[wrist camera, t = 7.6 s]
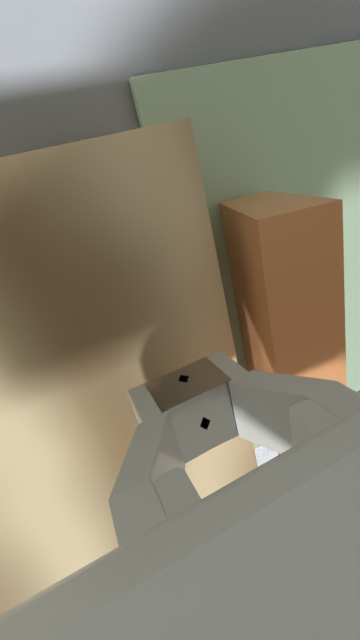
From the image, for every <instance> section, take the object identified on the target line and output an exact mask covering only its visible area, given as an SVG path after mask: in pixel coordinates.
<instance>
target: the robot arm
mask: <svg viewBox="0 0 360 640" xmlns="http://www.w3.org/2000/svg"><path fill="white" fill-rule="evenodd" d="M127 392H128V396H129V398H130V401H131V404H132V407H133V410H134V412H135V415H136V418H137V421H138V423H139V424H138V425H137V427H136V429H135V432H134V435H133V437H132V440H131V442H130V445H129V448H128V450H127V453H126V455H125V458H124V461H123V463H122V466H121V468H120V471H119V474H118V476H117V479H116V481H115V484H114V487H113V489H112V492H111V494H110V497H109V500H108V502H109V506H110V511H111V515H112V519H113V524H114V528H115V533H116V537H117V541H118V546H119V547H117V548H115V549H114V550H112V551H110V552H108V553H107V554H105V555H103V556H101V557H100V558H98V559H96V560H95V561H93V562H91V563H89V564H88V565H86V566H84V567H82V568H81V569H79V570H77V571H75V572H74V573H72V574H70V575H68V576H67V577H65V578H63V579H61V580H60V581H58V582H56V583H54V584H53V585H51V586H49V587H47V588H46V589H44V590H42V591H40V592H39V593H37V594H35V595H33V596H32V597H30V598H28V599H26V600H25V601H23V602H21V603H19V604H18V605H16V606H14V607H12V608H11V609H9V610H7V611H5V612H4V613H2V614H0V640H360V394H359V393H357V392H355V391H354V390H352V389H350V388H348V387H347V386H345V385H343V384H341V383H340V382H338V381H334V380H327V379H319V378H311V377H303V376H296V375H288V374H280V373H272V372H265V371H257V370H252V371H250V372H248V371H247V370H246V369H244V368H243V367H242V366H240V365H239V364H238V363H236V362H235V361H234V360H232V359H231V358H230V357H228V356H227V355H226V354H224V353H223V352H222V351H219V350H218V351H216V352H213V353H211V354H209V355H207V356H205V357H203V358H201V359H199V360H197V361H195V362H193V363H191V364H188V365H186V366H184V367H182V368H180V369H178V370H174V371H172V372H169V373H167V374H165V375H162V376H160V377H157V378H155V379H152V380H150V381H148V382H145V383H144V384H143V383H142V384H140V385H138V386H136V387H133V388H131V389H129V390H127ZM237 436H239V437H241V438H243V439H246V440H248V441H251V442H253V443H256V444H258V445H261V446H263V447H266V448H268V449H271V450H273V451H275V452H278V453H280V455H278V456H276V457H274V458H273V459H271V460H269V461H267V462H266V463H264V464H262V465H260V466H259V467H257V468H255V469H253V470H252V471H250V472H248V473H246V474H245V475H243V476H241V477H239V478H238V479H236V480H234V481H233V482H231V483H229V484H227V485H226V486H224V487H222V488H220V489H219V490H217V491H215V492H213V493H212V494H210V495H208V496H206V497H205V498H203V499H201V498H200V496H199V494H198V492H197V491H196V489H195V487H194V485H193V484H192V482H191V480H190V478H189V477H188V475H187V473H186V471H185V464H186V463H187V462H189V461H191V460H193V459H194V458H196V457H198V456H200V455H202V454H203V453H205V452H207V451H209V450H210V449H212V448H214V447H216V446H218V445H220V444H222V443H224V442H226V441H229V440H231V439H233V438H235V437H237Z"/></svg>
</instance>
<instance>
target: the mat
mask: <svg viewBox="0 0 360 640" xmlns="http://www.w3.org/2000/svg"><path fill="white" fill-rule="evenodd" d="M129 84H130V88H131V92H132V96H133V100H134V104H135V108H136V112H137V116H138V120H139V124H140V128H141V127H146V126H151V125H156V124H160V123H165V122H170V121H175V120H179V119H184V118H189V117H190V118H191V124H192V129H193V134H194V139H195V144H196V150H197V155H198V160H199V165H200V170H201V176H202V181H203V186H204V191H205V196H206V202H207V207H208V212H209V217H210V222H211V228H212V233H213V238H214V243H215V248H216V254H217V259H218V264H219V269H220V274H221V280H222V285H223V290H224V295H225V300H226V306H227V311H228V316H229V321H230V326H231V332H232V337H233V342H234V347H235V352H236V358H237V363H238V364H239V365H240V366H242V367H243V368H244V369H246V370H247V365H246V359H245V353H244V348H243V342H242V336H241V330H240V324H239V318H238V312H237V306H236V301H235V295H234V289H233V283H232V277H231V271H230V265H229V259H228V254H227V248H226V242H225V236H224V230H223V224H222V218H221V212H220V207H219V203H220V202H224V201H228V200H232V199H237V198H241V197H245V196H249V195H253V194H257V193H261V192H265V191H273V192H282V193H291V194H300V195H308V196H317V197H326V198H335V199H342V201H343V246H344V291H345V336H346V380H347V387H348V388H350V389H352V390H354V391H355V392H357V391H359V390H360V40H354V41H348V42H341V43H335V44H329V45H323V46H317V47H311V48H304V49H298V50H292V51H286V52H280V53H273V54H267V55H261V56H255V57H249V58H243V59H236V60H230V61H224V62H218V63H212V64H206V65H199V66H193V67H187V68H181V69H175V70H169V71H162V72H156V73H150V74H144V75H138V76H132V77H130V78H129ZM253 446H254V449H255V448H257V447H258V446H260V445H258V444H256V443H253Z"/></svg>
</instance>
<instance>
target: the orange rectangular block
mask: <svg viewBox="0 0 360 640" xmlns="http://www.w3.org/2000/svg"><path fill="white" fill-rule="evenodd" d="M219 207H220V212H221V218H222V224H223V230H224V236H225V242H226V248H227V254H228V259H229V265H230V271H231V277H232V283H233V289H234V295H235V301H236V306H237V312H238V318H239V324H240V330H241V336H242V342H243V348H244V353H245V359H246V365H247V371H248V372H250V371H252V370H257V371H265V372H272V373H280V374H288V375H296V376H303V377H311V378H319V379H327V380H334V381H338V382H340V383H341V384H343V385H345V386H347V380H346V336H345V291H344V246H343V201H342V199H335V198H326V197H317V196H308V195H300V194H291V193H282V192H273V191H265V192H261V193H257V194H253V195H249V196H245V197H241V198H237V199H232V200H228V201H224V202H220V203H219ZM278 454H279V455H280V453H278Z"/></svg>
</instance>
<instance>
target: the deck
mask: <svg viewBox="0 0 360 640" xmlns="http://www.w3.org/2000/svg"><path fill="white" fill-rule="evenodd" d="M218 350H219V351H222V352H223V353H224V354H226V355H227V356H228V357H230V358H231V359H232V360H234V361H235V362H236V363H237V358H236V352H235V347H234V342H233V337H232V332H231V326H230V321H229V316H228V311H227V306H226V300H225V295H224V290H223V285H222V280H221V274H220V269H219V264H218V259H217V254H216V248H215V243H214V238H213V233H212V228H211V222H210V217H209V212H208V207H207V202H206V196H205V191H204V186H203V181H202V176H201V170H200V165H199V160H198V155H197V150H196V144H195V139H194V134H193V129H192V124H191V118H190V117H189V118H184V119H179V120H175V121H170V122H165V123H160V124H156V125H151V126H146V127H141V128H137V129H132V130H127V131H122V132H118V133H113V134H108V135H103V136H98V137H94V138H89V139H84V140H79V141H75V142H70V143H65V144H60V145H56V146H51V147H46V148H41V149H36V150H32V151H27V152H22V153H17V154H13V155H8V156H3V157H0V614H2V613H4V612H5V611H7V610H9V609H11V608H12V607H14V606H16V605H18V604H19V603H21V602H23V601H25V600H26V599H28V598H30V597H32V596H33V595H35V594H37V593H39V592H40V591H42V590H44V589H46V588H47V587H49V586H51V585H53V584H54V583H56V582H58V581H60V580H61V579H63V578H65V577H67V576H68V575H70V574H72V573H74V572H75V571H77V570H79V569H81V568H82V567H84V566H86V565H88V564H89V563H91V562H93V561H95V560H96V559H98V558H100V557H101V556H103V555H105V554H107V553H108V552H110V551H112V550H114V549H115V548H117V547H119V546H118V541H117V537H116V533H115V528H114V524H113V519H112V515H111V511H110V506H109V502H108V500H109V497H110V494H111V492H112V489H113V487H114V484H115V481H116V479H117V476H118V474H119V471H120V468H121V466H122V463H123V461H124V458H125V455H126V453H127V450H128V448H129V445H130V442H131V440H132V437H133V435H134V432H135V429H136V427H137V425H138V424H139V423H138V421H137V418H136V415H135V412H134V410H133V407H132V404H131V401H130V398H129V396H128V392H127V390H129V389H131V388H133V387H136V386H138V385H140V384H142V383H143V384H144V383H145V382H148V381H150V380H152V379H155V378H157V377H160V376H162V375H165V374H167V373H169V372H172V371H174V370H178V369H180V368H182V367H184V366H186V365H188V364H191V363H193V362H195V361H197V360H199V359H201V358H203V357H205V356H207V355H209V354H211V353H213V352H216V351H218ZM255 468H257V461H256V456H255V451H254V446H253V442H251V441H248V440H246V439H243V438H241V437H239V436H237V437H235V438H233V439H231V440H229V441H226V442H224V443H222V444H220V445H218V446H216V447H214V448H212V449H210V450H209V451H207V452H205V453H203V454H202V455H200V456H198V457H196V458H194V459H193V460H191V461H189V462H187V463H186V464H185V471H186V473H187V475H188V477H189V478H190V480H191V482H192V484H193V485H194V487H195V489H196V491H197V492H198V494H199V496H200V498H201V499H203V498H205V497H206V496H208V495H210V494H212V493H213V492H215V491H217V490H219V489H220V488H222V487H224V486H226V485H227V484H229V483H231V482H233V481H234V480H236V479H238V478H239V477H241V476H243V475H245V474H246V473H248V472H250V471H252V470H253V469H255Z"/></svg>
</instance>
